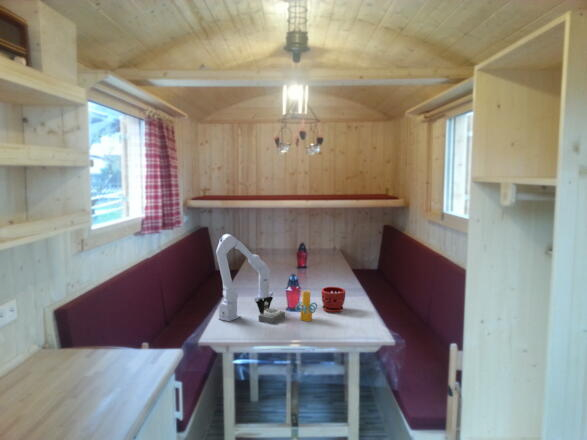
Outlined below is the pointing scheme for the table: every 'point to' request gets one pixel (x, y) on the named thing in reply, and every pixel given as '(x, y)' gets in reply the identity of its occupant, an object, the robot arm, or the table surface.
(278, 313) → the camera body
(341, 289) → the plant pot
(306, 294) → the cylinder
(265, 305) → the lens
